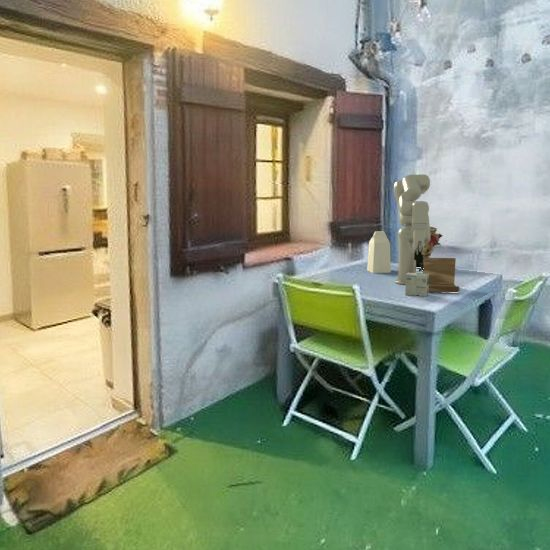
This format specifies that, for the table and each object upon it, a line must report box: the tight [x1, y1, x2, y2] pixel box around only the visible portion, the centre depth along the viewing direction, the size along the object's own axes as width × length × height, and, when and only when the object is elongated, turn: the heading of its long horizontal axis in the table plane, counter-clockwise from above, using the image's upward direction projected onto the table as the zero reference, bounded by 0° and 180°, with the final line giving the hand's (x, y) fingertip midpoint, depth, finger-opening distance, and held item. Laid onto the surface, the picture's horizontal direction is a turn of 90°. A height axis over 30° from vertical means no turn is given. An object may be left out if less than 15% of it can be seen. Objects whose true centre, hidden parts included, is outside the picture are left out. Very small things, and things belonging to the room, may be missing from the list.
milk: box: [366, 230, 392, 274], centre depth 302 cm, size 12×12×26 cm
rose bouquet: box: [412, 226, 443, 270], centre depth 309 cm, size 26×29×30 cm
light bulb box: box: [404, 272, 429, 297], centre depth 235 cm, size 11×7×11 cm, turn 65°
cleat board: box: [422, 257, 460, 292], centre depth 245 cm, size 16×16×16 cm
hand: (418, 261), depth 233 cm, fingers open, 9 cm apart
